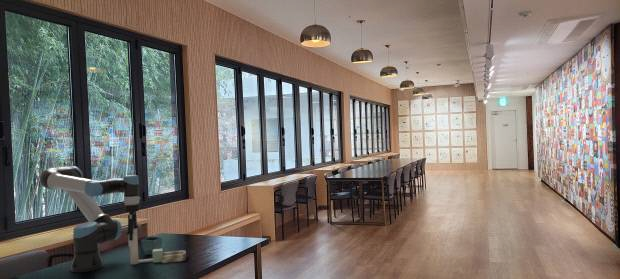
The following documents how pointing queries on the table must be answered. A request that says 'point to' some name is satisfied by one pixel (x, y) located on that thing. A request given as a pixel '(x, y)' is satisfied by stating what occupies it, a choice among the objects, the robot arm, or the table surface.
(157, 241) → the flower pot
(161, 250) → the beige teardrop-shaped paddle
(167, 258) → the beige u-shaped frame
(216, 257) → the table surface
